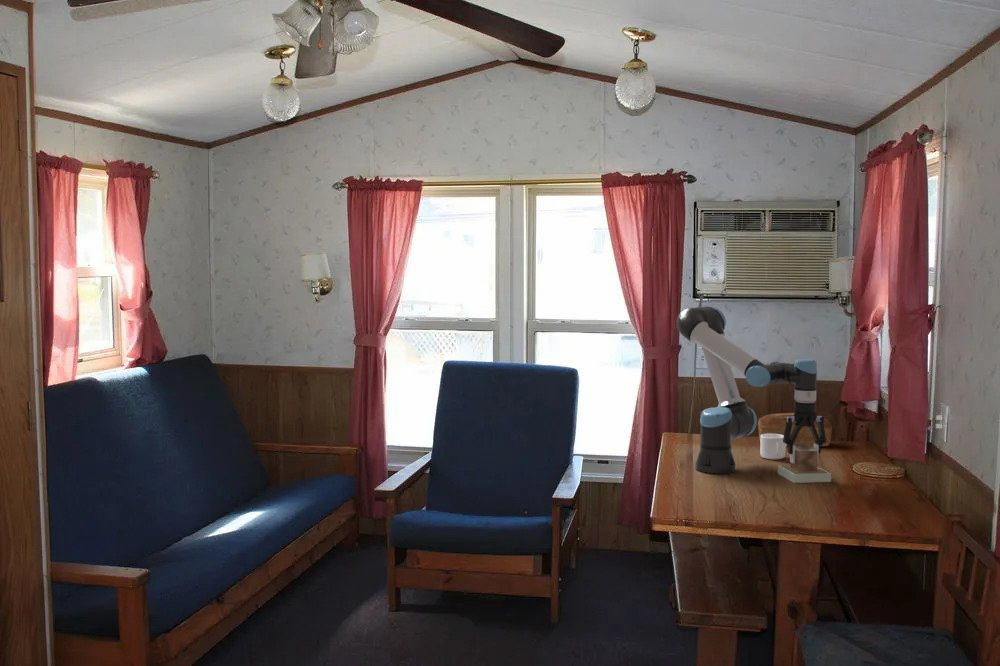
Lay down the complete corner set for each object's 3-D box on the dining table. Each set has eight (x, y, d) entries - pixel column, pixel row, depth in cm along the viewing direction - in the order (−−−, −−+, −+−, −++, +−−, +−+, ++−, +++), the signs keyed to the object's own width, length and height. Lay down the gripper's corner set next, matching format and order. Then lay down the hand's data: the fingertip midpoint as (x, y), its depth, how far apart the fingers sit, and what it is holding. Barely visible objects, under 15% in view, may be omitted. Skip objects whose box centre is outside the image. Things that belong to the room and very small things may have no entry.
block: (798, 471, 310) (799, 449, 310) (790, 466, 317) (790, 445, 317) (817, 470, 311) (817, 449, 310) (808, 466, 318) (809, 445, 317)
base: (793, 482, 307) (793, 473, 307) (777, 473, 321) (777, 464, 320) (830, 481, 308) (831, 472, 308) (813, 472, 322) (813, 463, 322)
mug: (792, 461, 340) (792, 439, 340) (766, 461, 340) (766, 439, 340) (781, 455, 352) (782, 433, 352) (757, 455, 352) (757, 433, 352)
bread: (757, 439, 385) (758, 410, 384) (830, 443, 375) (831, 413, 374) (757, 444, 374) (757, 414, 373) (832, 449, 364) (833, 417, 363)
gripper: (781, 403, 308) (780, 465, 309) (837, 402, 309) (836, 463, 311) (773, 400, 315) (772, 460, 317) (828, 399, 317) (826, 459, 319)
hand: (804, 462), depth 314 cm, fingers open, 8 cm apart
